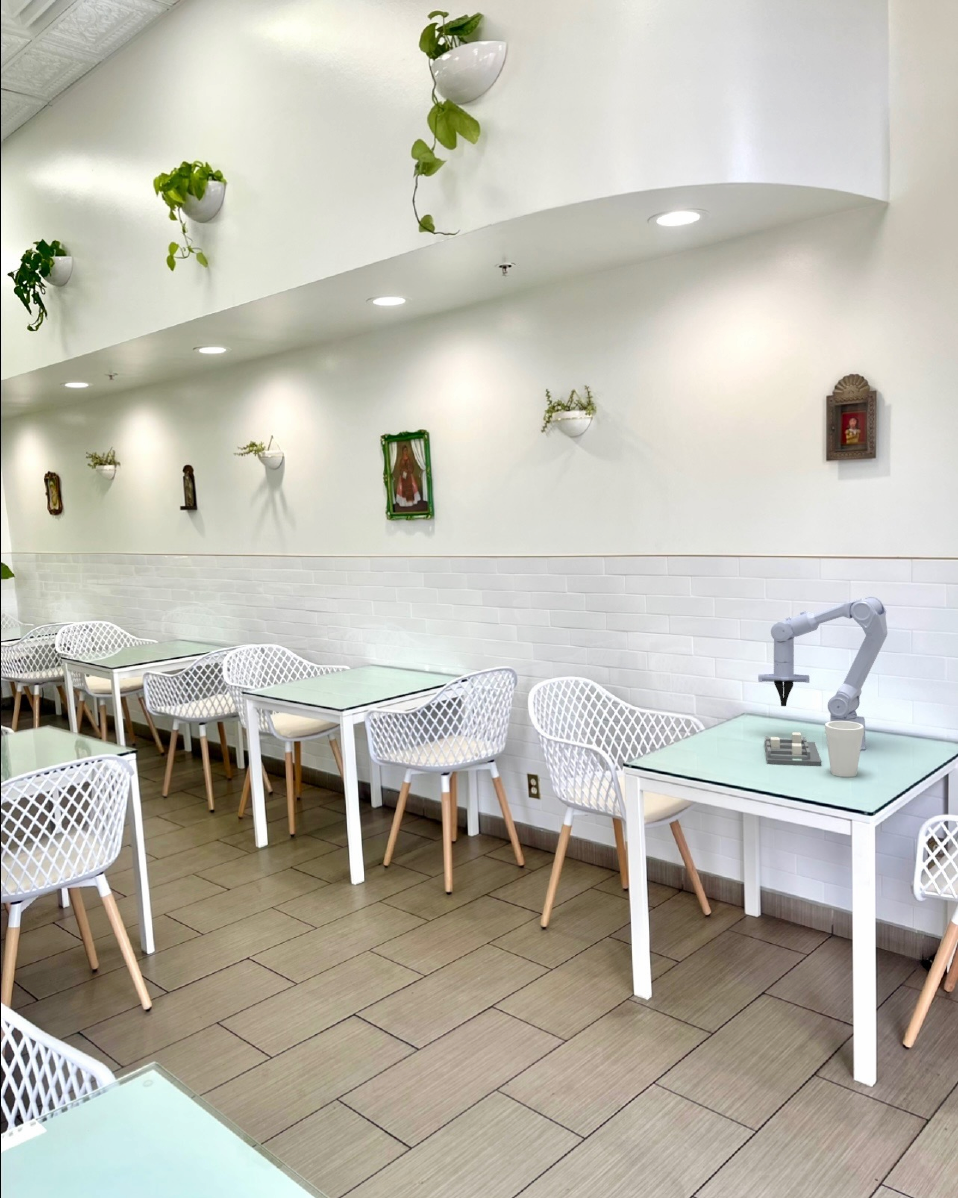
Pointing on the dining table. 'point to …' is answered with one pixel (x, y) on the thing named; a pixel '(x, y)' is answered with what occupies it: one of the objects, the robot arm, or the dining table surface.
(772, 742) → the tab
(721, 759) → the dining table surface
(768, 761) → the switch bank
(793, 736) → the tab
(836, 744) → the foam cup
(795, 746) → the tab
